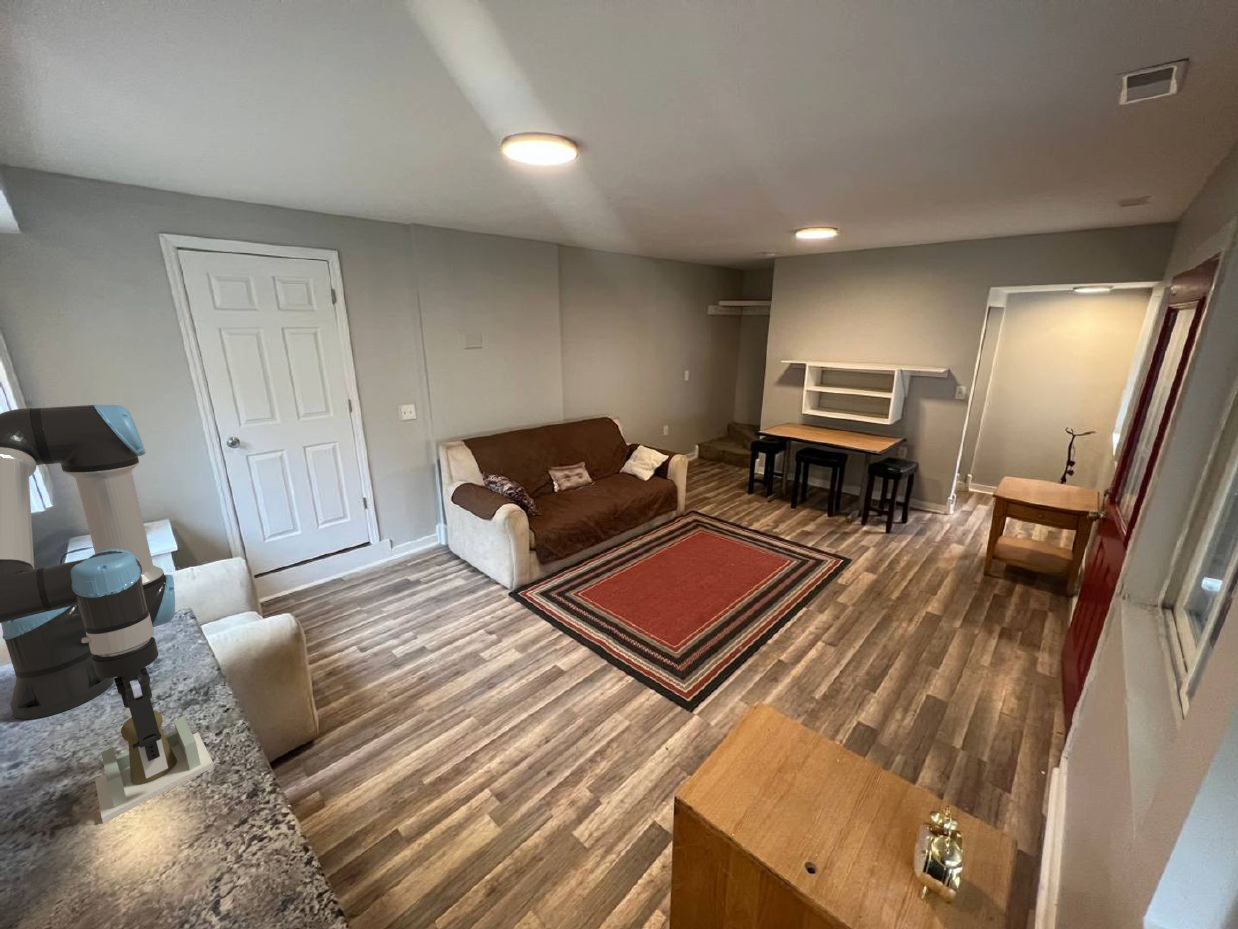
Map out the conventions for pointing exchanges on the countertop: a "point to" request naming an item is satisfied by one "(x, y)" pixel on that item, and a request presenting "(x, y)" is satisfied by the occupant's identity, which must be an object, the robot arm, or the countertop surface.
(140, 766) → the brown rounded knob
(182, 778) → the holder
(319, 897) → the countertop surface
